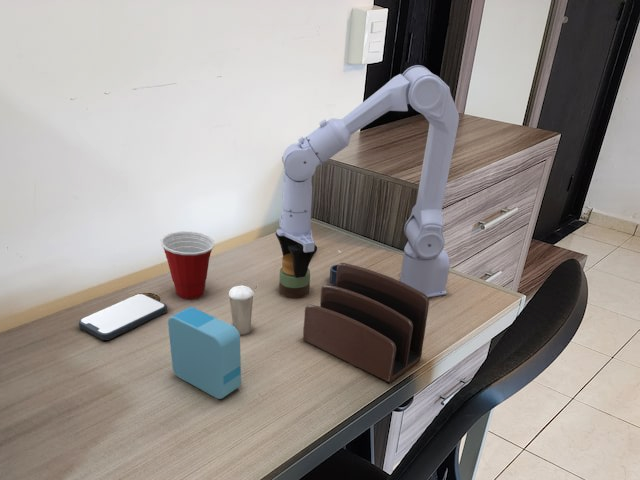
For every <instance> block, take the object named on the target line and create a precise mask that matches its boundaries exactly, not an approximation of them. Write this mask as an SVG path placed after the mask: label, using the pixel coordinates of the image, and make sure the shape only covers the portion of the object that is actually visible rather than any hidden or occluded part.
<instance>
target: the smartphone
mask: <svg viewBox="0 0 640 480" xmlns="http://www.w3.org/2000/svg"><path fill="white" fill-rule="evenodd" d="M167 311H168V306H167V304H166V303H165V302H162V301H160V300H158V299H155V298H154V297H151V296H149V295H147V294H144V293H137V294H134V295H132V296H130V297H127V298H125V299H122V300H120V301H118V302H116V303H114V304H112V305H109V306H107V307H105V308H103V309H100V310H97V311H95V312H92V313H91V314H87V315H86V316H84V317H82V318H80V319H79V320H78V326H79V328H80V329H82V330H83V331H85V332H87V333H89V334H91V335H92V336H94V337H96V338H98V339H100V340H102V341H109V340H112V339H114V338H115V337H118V336H120V335H122V334H124V333H127V332H128V331H130V330H132V329H134V328H136V327H139V326H141V325H142V324H144V323H146V322H147V323H148V322H149V321H151V320H153V319H155V318H157V317H159V316H161V315H163V314H166V313H167Z"/></svg>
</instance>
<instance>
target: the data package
mask: <svg viewBox="0 0 640 480" xmlns="http://www.w3.org/2000/svg"><path fill="white" fill-rule="evenodd" d="M167 325H168V334H169V335H168V337H169V348H170V356H171V366H172V370H173V373H174V374H175V375H176V377H177V378H179V379H181V380H182V381H184V382H186V383H188V384H189V385H192V386H194V387H195V388H197V389H199V390H201V391H203V392H205V393H206V394H208V395H210V396H212V397H214V398H215V399H217V400H221V399H224V398H225V397H226V396H229V394H231V393H233V392H234V391H235V390H237V389H239V388H240V387H241V386H242V364H241V363H242V361H241V359H242V357H241V334H239V332H238V330H237V329H236V328H235V327H234V326H233V324H230V323H228V322H226V321H224V320H221V319H219V318H217V317H214V316H213V315H210V314H209V313H206V312H205V311H202V310H199V309H197V308H195V307H193V306H190V307H186V308H185V309H183V310H181V311H180V312H178V313H175V314H173V315H172V316H170V317H169V318H168V320H167Z"/></svg>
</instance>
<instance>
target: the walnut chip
mask: <svg viewBox="0 0 640 480" xmlns="http://www.w3.org/2000/svg"><path fill="white" fill-rule="evenodd" d="M278 283H279V288H278V291H279V294H280V295H281V296H283V297H285V298H288V299H289V298H290V299H300V298H304V297H306V296H308V295H309V293H310V286H311V285H310V283H311V281H310V282H309V284H308V285H307V286H304V287H301V288H290V287H286V286H284V285H282V284H281V283H280V282H278Z"/></svg>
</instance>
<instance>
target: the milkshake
mask: <svg viewBox="0 0 640 480" xmlns="http://www.w3.org/2000/svg"><path fill="white" fill-rule="evenodd" d="M258 285H259V284H258V283H257V284H256V286H255V288H254V290H253V289H252V288H251V287H249V286H246V285H244V284H243V285H235V286H233V287H232V288H230V290H229V291H228V297H229V298H228V299H229V304H230V312H231V322H232V326H234V327H235V328H236V329H237V330H238V332H239V335H240V336H241V335H248V334H249V333H250V332H251V330H252V316H253V303H254V294H255V292H256V289H257V288H258Z"/></svg>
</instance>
